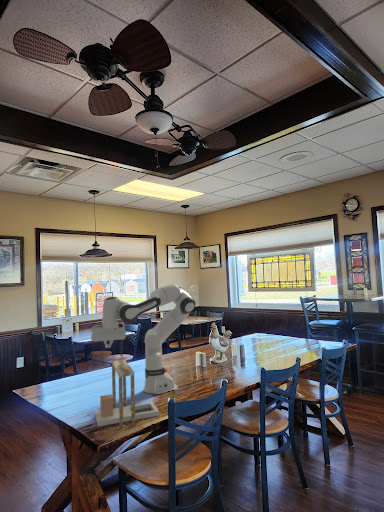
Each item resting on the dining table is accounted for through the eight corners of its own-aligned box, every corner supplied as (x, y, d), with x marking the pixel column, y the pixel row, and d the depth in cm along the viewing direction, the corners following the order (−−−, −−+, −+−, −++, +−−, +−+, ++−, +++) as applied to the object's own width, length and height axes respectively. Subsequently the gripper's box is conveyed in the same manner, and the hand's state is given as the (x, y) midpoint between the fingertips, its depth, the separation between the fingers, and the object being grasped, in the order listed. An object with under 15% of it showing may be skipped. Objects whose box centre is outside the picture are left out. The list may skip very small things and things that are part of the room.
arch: (126, 406, 199) (125, 359, 201) (135, 425, 173) (134, 372, 174) (112, 408, 196) (111, 361, 198) (120, 428, 170) (119, 374, 172)
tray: (152, 406, 198) (152, 402, 198) (159, 415, 184) (159, 410, 185) (95, 416, 186) (95, 411, 187) (97, 426, 173) (97, 421, 173)
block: (112, 411, 186) (111, 394, 186) (113, 415, 180) (113, 398, 181) (100, 413, 184) (100, 396, 184) (101, 417, 178) (101, 399, 179)
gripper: (93, 326, 196) (91, 350, 196) (127, 324, 206) (126, 347, 206) (90, 324, 201) (88, 347, 201) (123, 322, 212) (122, 345, 212)
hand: (107, 347), depth 204 cm, fingers closed
